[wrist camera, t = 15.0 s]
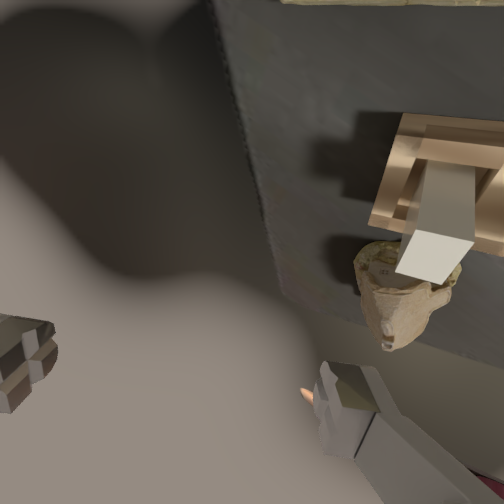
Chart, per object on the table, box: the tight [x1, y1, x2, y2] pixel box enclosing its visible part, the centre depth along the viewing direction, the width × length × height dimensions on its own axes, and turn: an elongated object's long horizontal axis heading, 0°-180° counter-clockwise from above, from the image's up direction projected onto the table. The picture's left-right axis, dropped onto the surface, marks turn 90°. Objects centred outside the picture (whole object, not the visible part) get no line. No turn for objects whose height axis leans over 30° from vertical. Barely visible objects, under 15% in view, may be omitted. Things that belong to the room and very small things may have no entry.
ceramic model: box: [353, 241, 462, 352], centre depth 31 cm, size 14×11×10 cm
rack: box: [368, 113, 504, 257], centre depth 20 cm, size 9×17×4 cm, turn 98°
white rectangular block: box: [395, 159, 475, 285], centre depth 20 cm, size 4×3×8 cm, turn 9°
